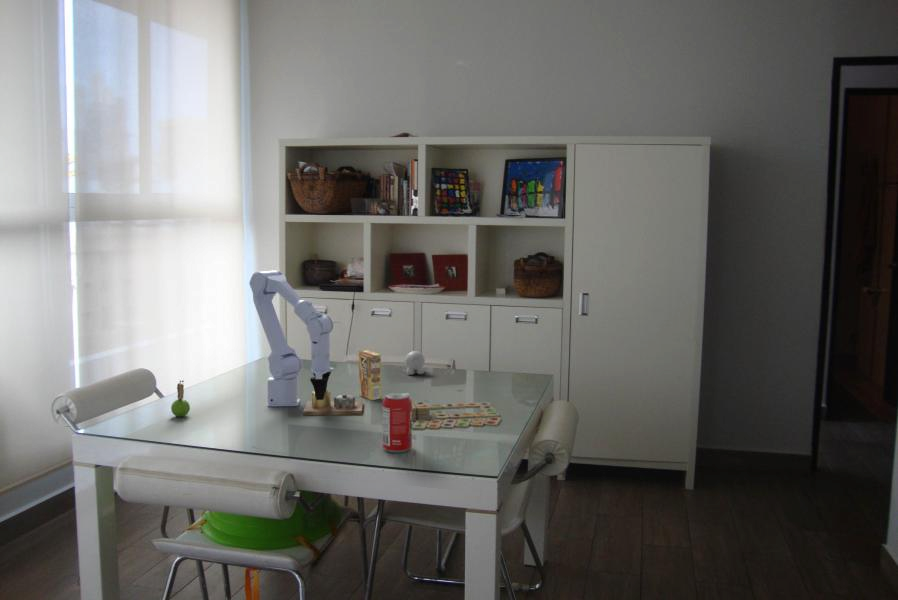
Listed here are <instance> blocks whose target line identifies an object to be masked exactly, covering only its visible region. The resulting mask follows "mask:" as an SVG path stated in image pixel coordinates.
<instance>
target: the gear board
mask: <svg viewBox="0 0 898 600" xmlns="http://www.w3.org/2000/svg"><path fill="white" fill-rule="evenodd" d="M363 406H364V400H356V396H354V395H352V394H342V395H340V394H339V395H336V396H334V397H333V400H331V406H329V407H327V408H326V407H325V408H314V407H313V406H312V400H307V402H306V404H305V406H304V409H303V411H302V415H303V416H341V415H343V416H345V415H346V416H348V415H349V416H353V415H354V416H355V415H356V416H357V415H359V416H360V415H362V414H363Z"/></svg>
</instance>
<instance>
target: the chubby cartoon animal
mask: <svg viewBox="0 0 898 600" xmlns="http://www.w3.org/2000/svg"><path fill="white" fill-rule="evenodd" d="M425 362H426V361H425V356H424V354H423V353H422V352H420V351H419V350H413V351H409V353H407V354H406V356H405V358H404V363H405V366H406V367H407V368H406V374H407V375H408V376H413V375H415V374H417V375H424V365H425Z"/></svg>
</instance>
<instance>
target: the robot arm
mask: <svg viewBox="0 0 898 600" xmlns="http://www.w3.org/2000/svg"><path fill="white" fill-rule="evenodd" d="M249 287H250V289H251V293H252V301H253V304H254V307H255V309H256V312H257V315H258V318H259V320H260V323H261V326H262V328H263V331H264V334H265V337H266V339H267V342H268V344H269V348H270V350H271V351H270V353H269V355H268V358H267V361H268V365H269V366H268V367H269V368H268V369H269V373H270V375H272V377H271V376H270V377H268V378H267V407H298V405H299V404H300V402H301V399H300V398H298V376H299V373H300V371H302V368H303V362H302V360H301V358H300V357H299V356H298V354H297V351H296V350H295V349H294V348H293V347H291V346H289V345H288V342H287V339H286V337H285V334H284V332H283V328H282V326H281V323H280V320H279V317H278V315H277V312H276V309H275V307H274V306H275V305H274V304H273V299H274V297H275V296H276V295H277V294H279V295H280V296H281V297H282V298H283V299H285V301H286V302H288V303H289V304H290V305H291V306H292V307H293V308H294V310H293V311H294V314H295V315H296V316H297V317H298V318H299V319H300V321H302V322H303V323H304V324H305V325H306V330H307V332H308V335H309V340H310V346H311V348H310V349H311V351H310V353H311V368H310V372H312V375H313V376H314V377H313V376H312V377H310V378H309V379H310V382H311V385H312V387H313V392H314V391H315V396H316V399H317V400H323V399H324V394H325V390H328V389H327V387H328V382H329V378H330V376H331V374H332V372H333V371H334V367H331V358H330V355H331V354H330V351H331V348H330V347H331V346H330V345H331V344H330V333H331V332H333V329H334V322H333V320H332V318H331V317H330V316H328V315H324V314H322V312H321V311H319V310H318V309H317V308H316V307H315V306H314V305H313V302H312V301H309V300H307V299H304V300H303V299H302V298H301V297H300V295H299V294H298V293H297V292H296V291H295V290H294V288H293V287H292V286H291V285H290V283H288V281H287V277H286V276H285V275H284V274H283V273H282V272H281V271H280V270H279V269H272V270H267V271H256V272H254V273H253V274H252V275H251V277H250V280H249Z"/></svg>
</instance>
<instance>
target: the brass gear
mask: <svg viewBox="0 0 898 600" xmlns="http://www.w3.org/2000/svg"><path fill="white" fill-rule="evenodd" d="M331 393H332V392H331V391H330V390H328V389H326V390H325V394H324V399H323V400H317V399H316V396H315V391H314V390H313V391H312V392H311V401H312V406H313V407H314V408H325V407H326V408H327V407H329V406H331V401H332V398H331V397H332V395H331Z"/></svg>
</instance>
